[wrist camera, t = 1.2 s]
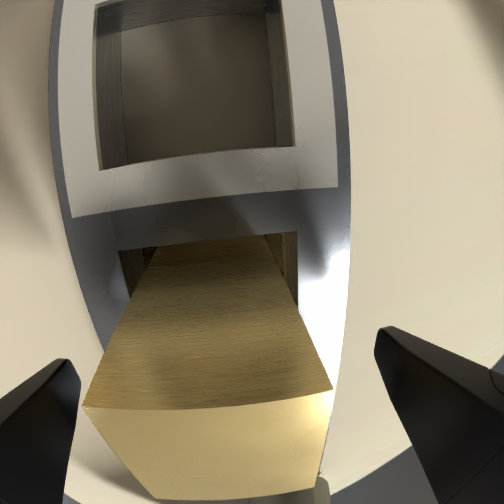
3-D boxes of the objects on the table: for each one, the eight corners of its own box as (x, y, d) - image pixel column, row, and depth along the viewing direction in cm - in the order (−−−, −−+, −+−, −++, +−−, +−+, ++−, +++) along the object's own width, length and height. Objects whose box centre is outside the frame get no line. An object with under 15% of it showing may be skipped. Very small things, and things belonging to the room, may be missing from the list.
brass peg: (262, 232, 11) (333, 389, 4) (267, 320, 13) (314, 486, 5) (159, 244, 11) (81, 406, 4) (177, 329, 13) (155, 498, 5)
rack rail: (302, -26, 8) (322, -60, 5) (310, 442, 17) (320, 473, 14) (84, 1, 7) (55, -24, 4) (180, 455, 16) (178, 488, 14)
